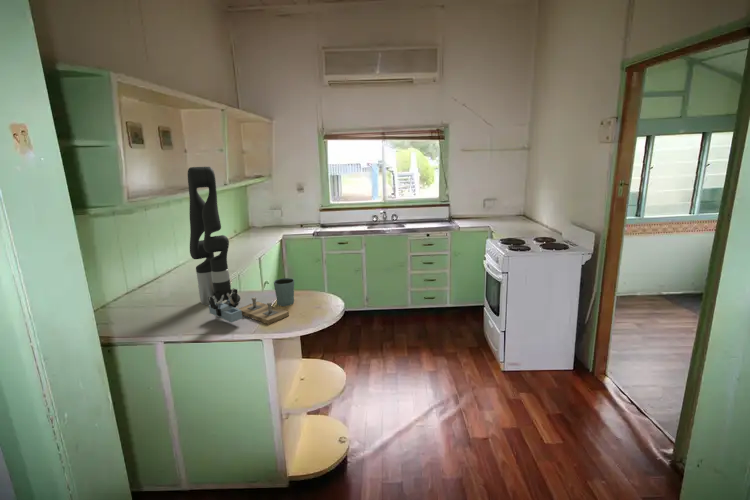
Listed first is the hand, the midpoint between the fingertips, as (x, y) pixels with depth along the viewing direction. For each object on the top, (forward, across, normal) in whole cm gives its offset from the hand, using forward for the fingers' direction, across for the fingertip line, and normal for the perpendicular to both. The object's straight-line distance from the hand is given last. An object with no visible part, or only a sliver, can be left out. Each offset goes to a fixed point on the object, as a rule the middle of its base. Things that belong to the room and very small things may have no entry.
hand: (225, 313), depth 188 cm
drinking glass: (+4, -31, +5) cm, 32 cm away
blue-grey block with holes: (+1, 0, 0) cm, 1 cm away
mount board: (+4, -15, +7) cm, 17 cm away
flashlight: (+5, -11, -14) cm, 18 cm away
